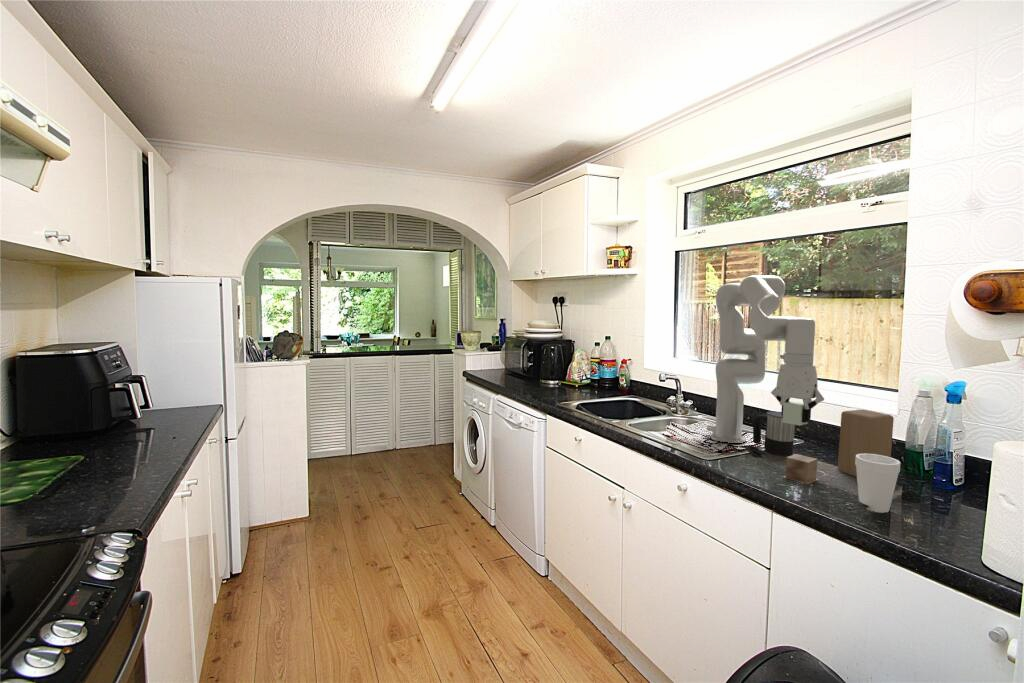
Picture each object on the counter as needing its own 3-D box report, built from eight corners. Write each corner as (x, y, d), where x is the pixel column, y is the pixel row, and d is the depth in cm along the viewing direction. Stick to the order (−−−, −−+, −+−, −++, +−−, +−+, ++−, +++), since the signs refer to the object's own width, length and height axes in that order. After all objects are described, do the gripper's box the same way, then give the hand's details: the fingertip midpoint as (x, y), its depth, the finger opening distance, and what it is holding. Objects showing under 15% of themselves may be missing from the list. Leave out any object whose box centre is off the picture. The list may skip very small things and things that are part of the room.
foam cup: (898, 507, 134) (902, 459, 133) (894, 518, 127) (898, 467, 126) (855, 497, 140) (858, 451, 139) (849, 507, 133) (852, 458, 132)
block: (857, 470, 164) (862, 408, 162) (890, 480, 154) (895, 415, 153) (835, 473, 160) (840, 410, 158) (867, 484, 151) (872, 417, 149)
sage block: (782, 422, 153) (783, 402, 153) (790, 420, 156) (791, 400, 156) (799, 425, 149) (800, 405, 149) (807, 423, 152) (808, 403, 152)
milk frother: (795, 455, 179) (798, 413, 178) (790, 466, 166) (792, 421, 165) (751, 448, 187) (753, 408, 186) (742, 458, 174) (745, 415, 173)
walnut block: (785, 477, 152) (786, 457, 152) (794, 473, 156) (796, 453, 155) (806, 482, 147) (808, 462, 147) (816, 478, 151) (817, 458, 151)
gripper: (763, 357, 156) (760, 416, 157) (824, 363, 142) (820, 427, 144) (776, 356, 161) (773, 414, 162) (835, 361, 147) (832, 424, 148)
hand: (795, 419), depth 153 cm, fingers closed on sage block, 5 cm apart
